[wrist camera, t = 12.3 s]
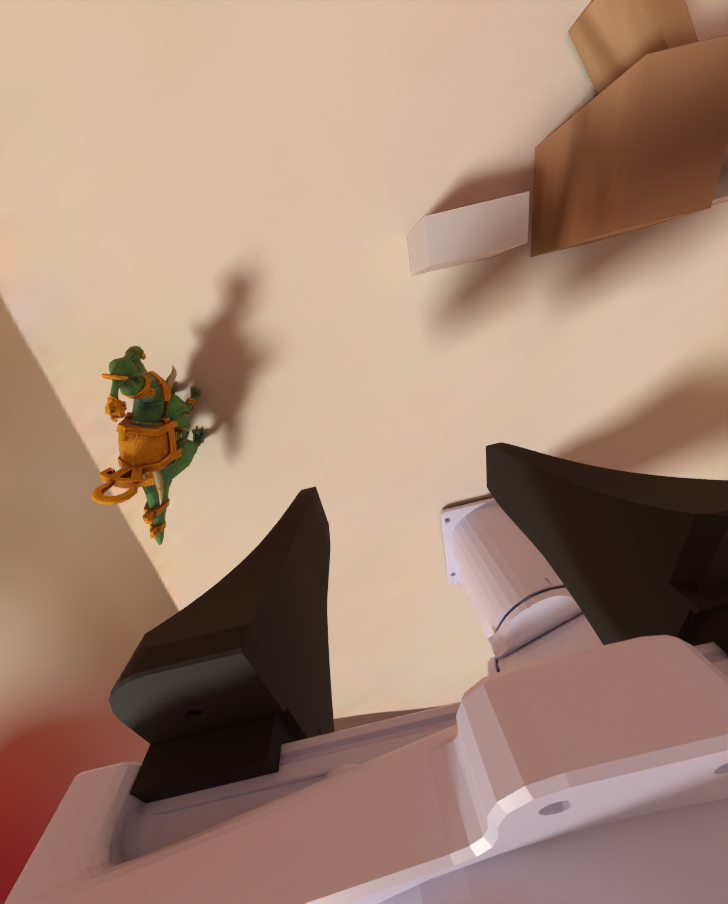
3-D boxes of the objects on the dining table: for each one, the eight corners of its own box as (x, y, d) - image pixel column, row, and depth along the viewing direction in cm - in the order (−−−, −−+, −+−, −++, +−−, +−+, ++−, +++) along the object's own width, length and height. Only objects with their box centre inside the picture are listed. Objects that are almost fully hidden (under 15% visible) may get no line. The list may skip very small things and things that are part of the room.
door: (645, 192, 16) (712, 165, 13) (568, 31, 13) (632, -48, 10) (674, 161, 16) (750, 127, 13) (600, -13, 13) (678, -108, 10)
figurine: (206, 344, 18) (117, 363, 10) (214, 502, 22) (156, 592, 15) (152, 335, 17) (16, 347, 10) (171, 499, 22) (91, 589, 15)
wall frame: (732, 198, 17) (832, 169, 14) (411, 275, 17) (431, 265, 14) (744, 154, 16) (855, 111, 13) (406, 235, 16) (426, 213, 13)
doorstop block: (593, 242, 17) (710, 207, 12) (530, 257, 17) (619, 229, 12) (607, 130, 15) (758, 27, 10) (534, 147, 15) (646, 54, 10)
